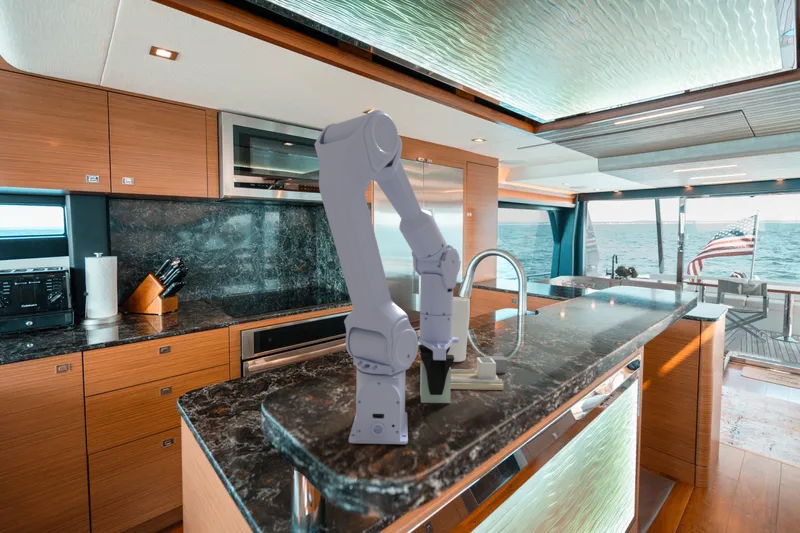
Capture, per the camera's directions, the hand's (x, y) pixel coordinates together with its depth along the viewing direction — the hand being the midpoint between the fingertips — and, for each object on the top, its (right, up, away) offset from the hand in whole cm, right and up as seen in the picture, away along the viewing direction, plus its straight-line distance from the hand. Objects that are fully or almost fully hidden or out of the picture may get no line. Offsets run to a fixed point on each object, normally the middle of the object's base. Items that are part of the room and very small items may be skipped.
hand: (434, 389), depth 67 cm
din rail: (+6, -2, +9) cm, 11 cm away
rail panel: (+6, -2, +9) cm, 11 cm away
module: (0, -2, 0) cm, 2 cm away
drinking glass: (+7, -1, +25) cm, 26 cm away
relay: (+15, -2, +17) cm, 23 cm away
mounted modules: (+6, 0, +9) cm, 11 cm away
